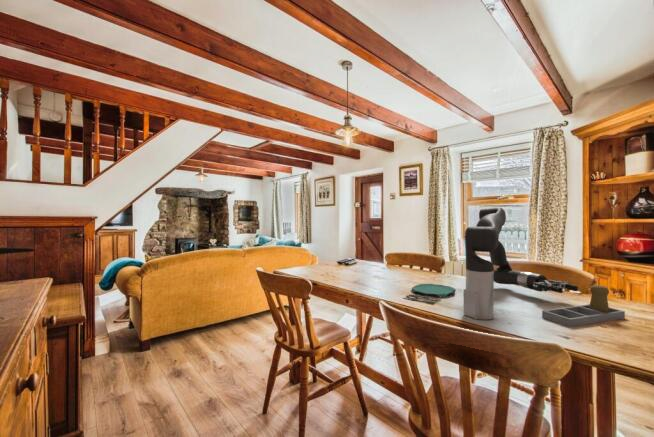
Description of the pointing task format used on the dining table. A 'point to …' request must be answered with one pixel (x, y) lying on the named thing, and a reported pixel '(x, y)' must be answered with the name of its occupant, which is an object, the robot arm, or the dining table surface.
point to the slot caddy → (581, 315)
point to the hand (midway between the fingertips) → (569, 289)
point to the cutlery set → (430, 292)
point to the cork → (599, 298)
